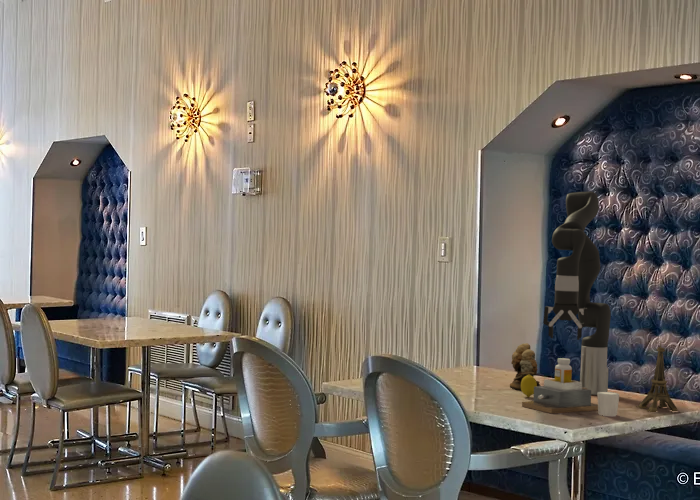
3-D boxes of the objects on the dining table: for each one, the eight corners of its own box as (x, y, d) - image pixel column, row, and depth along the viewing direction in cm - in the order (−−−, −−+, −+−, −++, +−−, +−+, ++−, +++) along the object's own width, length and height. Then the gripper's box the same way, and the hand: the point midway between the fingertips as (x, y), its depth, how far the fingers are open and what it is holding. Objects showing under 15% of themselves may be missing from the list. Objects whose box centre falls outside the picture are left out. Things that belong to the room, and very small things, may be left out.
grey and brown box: (571, 403, 336) (572, 376, 336) (601, 409, 324) (602, 382, 324) (521, 406, 324) (523, 379, 324) (551, 413, 313) (552, 385, 312)
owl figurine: (546, 393, 358) (548, 346, 358) (514, 392, 359) (515, 345, 358) (537, 385, 376) (539, 341, 376) (506, 384, 377) (508, 340, 376)
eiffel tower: (650, 412, 323) (653, 336, 323) (636, 407, 334) (639, 333, 333) (680, 413, 325) (683, 337, 325) (665, 407, 335) (668, 334, 335)
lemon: (536, 398, 342) (537, 375, 342) (519, 397, 343) (520, 374, 343) (536, 396, 348) (537, 374, 348) (520, 395, 349) (521, 372, 349)
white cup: (593, 412, 318) (594, 391, 318) (614, 413, 318) (615, 391, 318) (600, 416, 311) (601, 394, 311) (621, 417, 312) (622, 394, 311)
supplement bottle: (571, 388, 326) (573, 358, 326) (570, 390, 321) (571, 360, 321) (555, 386, 328) (556, 357, 328) (553, 388, 323) (554, 358, 323)
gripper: (589, 290, 326) (587, 339, 326) (545, 288, 329) (543, 336, 329) (589, 291, 319) (587, 341, 319) (544, 288, 322) (542, 338, 322)
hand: (564, 338), depth 324 cm, fingers open, 8 cm apart
